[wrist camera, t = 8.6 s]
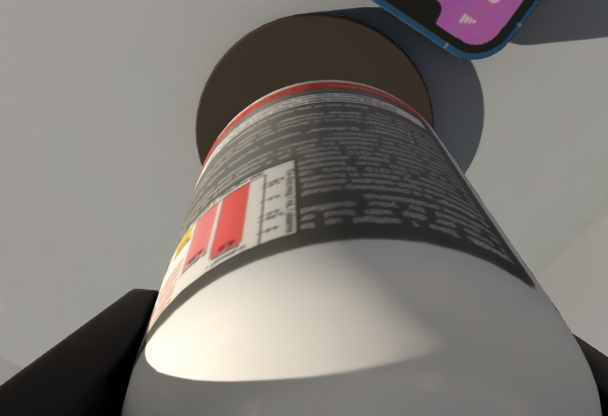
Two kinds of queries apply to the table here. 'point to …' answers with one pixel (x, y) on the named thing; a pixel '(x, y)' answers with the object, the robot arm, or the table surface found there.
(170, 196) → the table surface
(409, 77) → the coaster
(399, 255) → the pill bottle
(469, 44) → the smartphone
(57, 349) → the robot arm
